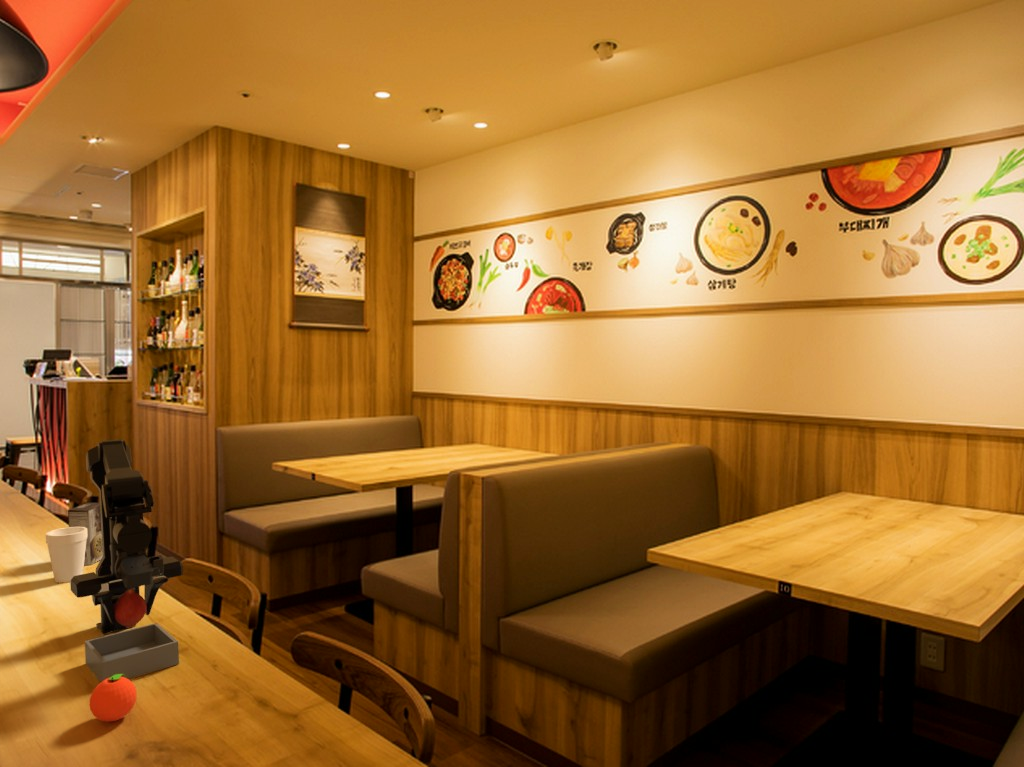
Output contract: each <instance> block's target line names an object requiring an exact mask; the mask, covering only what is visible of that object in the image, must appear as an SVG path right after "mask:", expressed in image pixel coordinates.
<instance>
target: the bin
mask: <svg viewBox="0 0 1024 767" xmlns="http://www.w3.org/2000/svg"><path fill="white" fill-rule="evenodd" d="M179 651H180V650H179V640H177V639H176V638H175V637H174V636H172V634H170V633H169V632H168V631H167V630H165V629H164V628H163V627H162V626H161V625H160V624H158V623H157V622H154V623H150V624H145V625H143V626H139V627H133V628H129V629H126V630H123V631H119V632H115V633H111V634H108V635H104V636H100V637H95V638H91V639H88V640H84V654H85V656H84V658H85V664H86V665H85V666H87V667H88V668H89V670H90V671H91V672H92V674H93V675H94V676H95V678H96V679H97V680H98V681H99V684H100V683H101V682H102V681H104V680H105V679H107V678H110V677H112V676H113V675H116V674H125V676H126V678H127V679H129V680H131V679H134V678H137V677H140V676H144V675H147V674H151V673H154V672H158V671H160V670H164V669H167V668H170V667H171V668H172V667H174V666H177V665H180V654H179V653H180V652H179ZM121 677H124V676H121Z"/></svg>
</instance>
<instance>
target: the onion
mask: <svg viewBox="0 0 1024 767" xmlns="http://www.w3.org/2000/svg"><path fill="white" fill-rule="evenodd" d="M139 594H140V593H139ZM139 594H138V593H135V592H134V591H133V589H128V590H127V591H126V592H125V593H124V594H122V595H121V596H120V597H119V598H118V600H117V601H116V603H115V604H114V607H113V610H114V616H115V620H116V621H117V622H118V623H119V624H121V625H123V626H126V627H128V628H127V629H134V628H135V627H136V626H137V624H138V623H139V622H141V620H142V619H143V618H144V617H145V615H146V610H147V605H146V602H145V598H144V597H143V596H142V595H141V594H140V595H139ZM135 625H136V626H135Z"/></svg>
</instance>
